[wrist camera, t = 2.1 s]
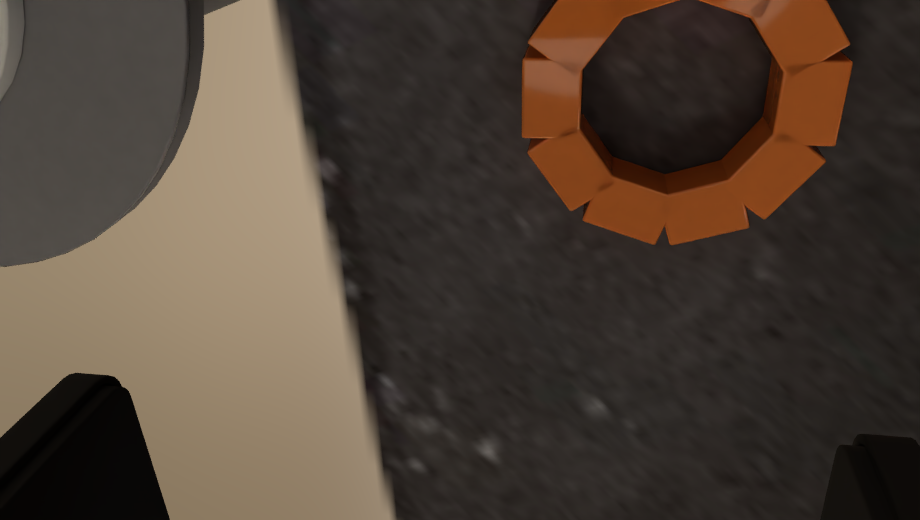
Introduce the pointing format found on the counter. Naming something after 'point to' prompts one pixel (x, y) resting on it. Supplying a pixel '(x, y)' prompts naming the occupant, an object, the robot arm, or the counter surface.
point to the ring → (702, 187)
